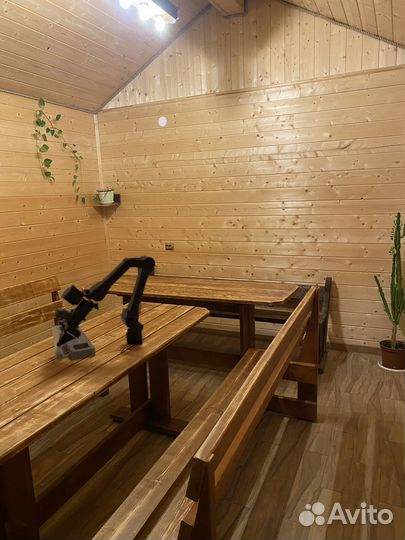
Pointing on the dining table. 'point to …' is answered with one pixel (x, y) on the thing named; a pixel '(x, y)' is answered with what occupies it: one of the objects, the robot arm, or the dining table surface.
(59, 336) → the cylinder
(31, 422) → the dining table surface
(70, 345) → the twin nest fixture
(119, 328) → the dining table surface
